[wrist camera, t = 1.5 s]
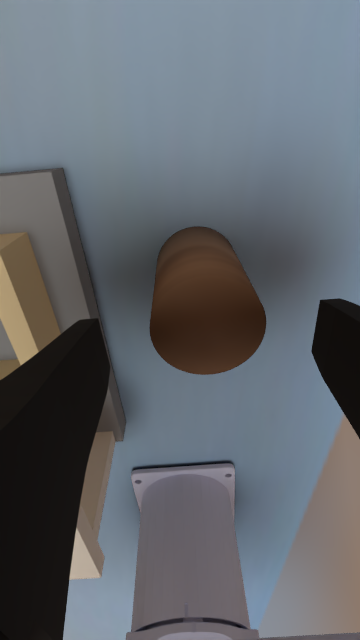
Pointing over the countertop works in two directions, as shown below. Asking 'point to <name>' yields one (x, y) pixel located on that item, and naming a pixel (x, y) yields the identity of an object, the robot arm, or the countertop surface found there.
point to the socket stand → (53, 320)
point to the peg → (204, 304)
